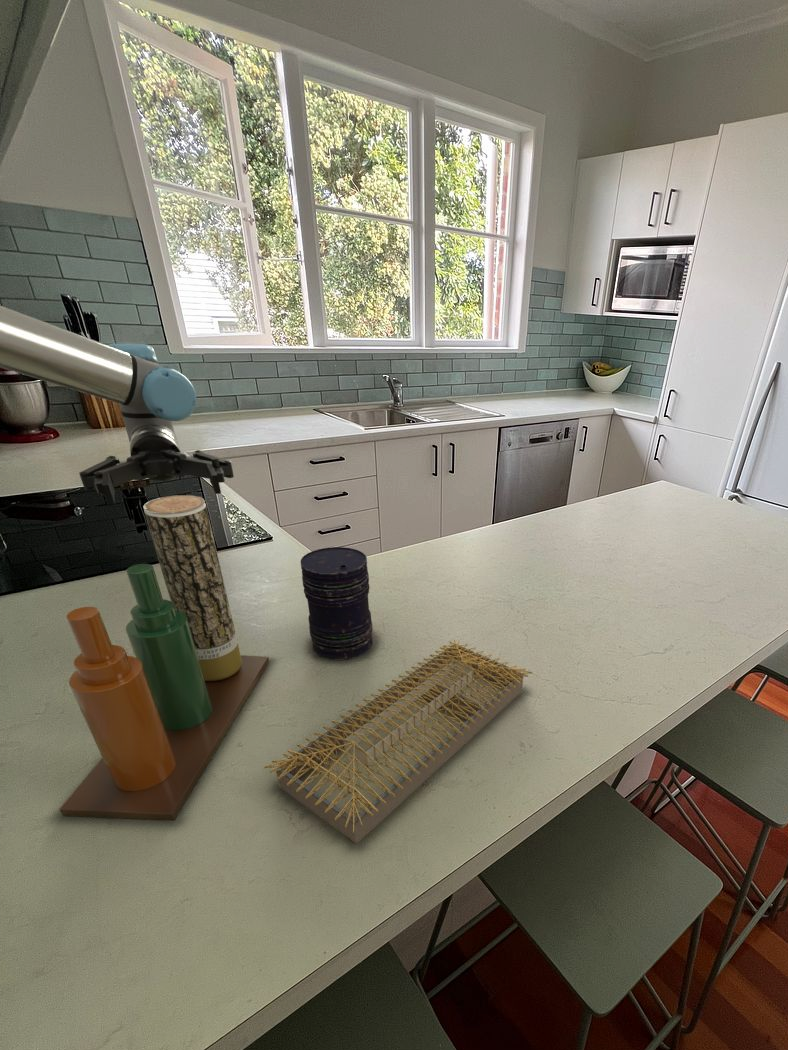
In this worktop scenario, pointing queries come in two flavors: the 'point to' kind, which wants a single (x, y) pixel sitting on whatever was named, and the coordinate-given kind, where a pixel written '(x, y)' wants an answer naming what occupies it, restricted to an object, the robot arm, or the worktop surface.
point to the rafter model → (399, 735)
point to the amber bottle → (118, 706)
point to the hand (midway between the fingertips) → (164, 489)
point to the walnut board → (190, 754)
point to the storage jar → (338, 602)
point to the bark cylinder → (195, 579)
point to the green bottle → (166, 653)
